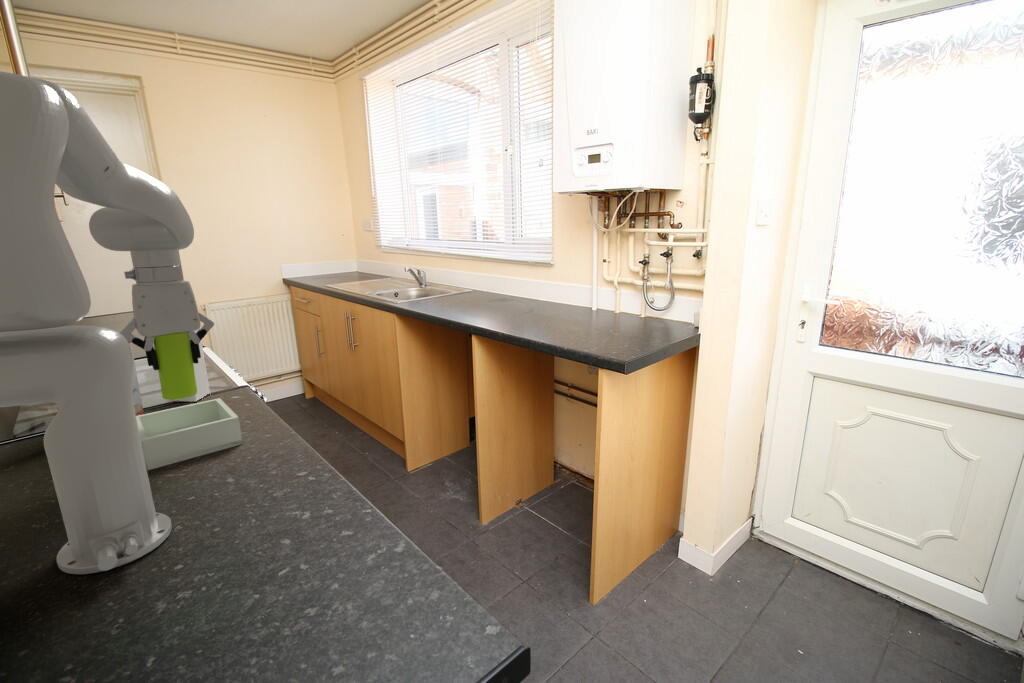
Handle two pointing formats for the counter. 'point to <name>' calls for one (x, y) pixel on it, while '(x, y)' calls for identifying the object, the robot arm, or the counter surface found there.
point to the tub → (187, 432)
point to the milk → (199, 378)
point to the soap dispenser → (175, 366)
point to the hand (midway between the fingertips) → (175, 364)
